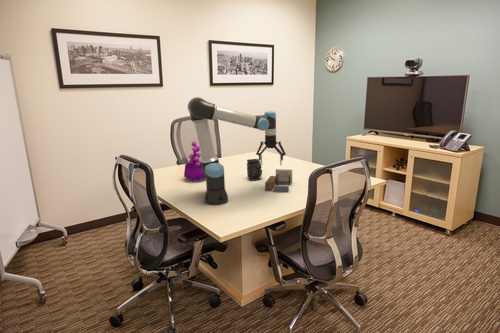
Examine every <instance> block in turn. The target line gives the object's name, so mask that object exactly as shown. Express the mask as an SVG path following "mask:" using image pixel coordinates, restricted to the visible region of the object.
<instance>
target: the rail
mask: <svg viewBox="0 0 500 333" xmlns="http://www.w3.org/2000/svg"><path fill="white" fill-rule="evenodd" d="M274 186H277V185H276V175H270V176H269V177H268V178H267V180H266V181H265V182H264V190H265V192H272V191H274V189H273V187H274Z"/></svg>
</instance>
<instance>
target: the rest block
mask: <svg viewBox="0 0 500 333" xmlns="http://www.w3.org/2000/svg"><path fill="white" fill-rule="evenodd" d="M289 192H290V185H275V186H274V187H273V193H289Z"/></svg>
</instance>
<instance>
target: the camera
mask: <svg viewBox="0 0 500 333" xmlns="http://www.w3.org/2000/svg"><path fill="white" fill-rule="evenodd" d="M246 161H247V162H246V168H247V169H246V170H247V171H246V174H247V175H246V176H247V178H248V180H249V181H255V180H256V181H258V180H260V178H261V177H262V176H263V169H262V168H263V167H262V165H261V162H260V160H259V158H252V159H247V160H246Z"/></svg>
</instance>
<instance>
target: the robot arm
mask: <svg viewBox="0 0 500 333" xmlns="http://www.w3.org/2000/svg"><path fill="white" fill-rule="evenodd" d="M187 110H188V112H189V116H190V120H191V122H192V123H193V124H194V128H195V132H196V136H197V140H198V144H199V147H200V150H199V151H200V154H201V160H200V161H201V165H202V172H203V174H204V176H205V178H204V179H205V185H206V191H205V195H204V198H203V199H204V203H205V204H206V205H210V206H219V205H223V204H227V202H228V201H229V196H228V193H227V191H226V185H225V184H226V183H225V182H226V181H225V168H224V165H223V164H222V163H220V160H219V157H218V156H216V153H215V150H214V143H213V140H212V134H211V129H210V125H209V120H211V121H212V120H216V121H217V120H219V121H222V122H226V123H230V124H235V125H239V126H243V127H248V128H253V129H255V130H259V131H264V134H265V135H264V141H263V140H262V141H260V145H259V147H258V149H257V151H256V153H255V154H256V156H258V159H259V160H260V164H261V166H262V165H263V153H264V152H265V151H266V149H274V150H275V151H277V153H278V154H279V155H280V156H279V166H282V162H283V160H284V156H286V151H285V150H284V147H283V145H282V142H281V141H277V113H276V112H275V111H271V110H268V111H264V114H262V115H253V114H248V113H244V112H240V111H238V110H233V109H229V108H225V107H221V106H217V105H216V103H212V102H210V101H208V100H206V99H203V98H202V97H192V98H191V99H190V100H189V102H188V104H187ZM264 145H265V147H264V148H263V146H264ZM277 145H278V146H277ZM278 147H279V148H280V149H279V148H278ZM261 149H262V150H261Z"/></svg>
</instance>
